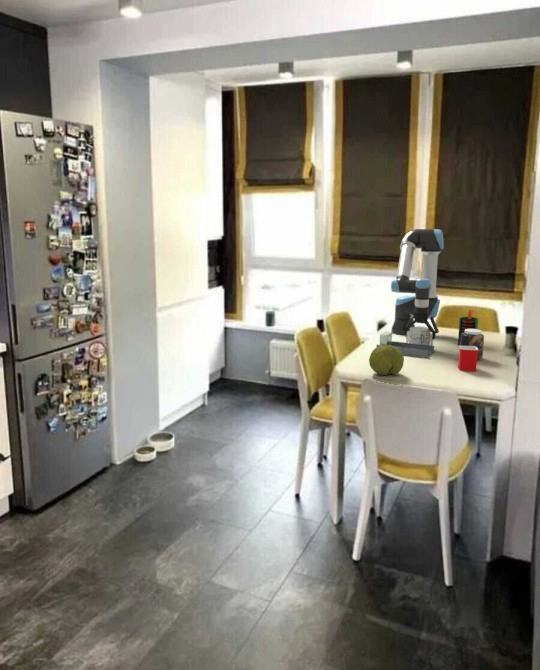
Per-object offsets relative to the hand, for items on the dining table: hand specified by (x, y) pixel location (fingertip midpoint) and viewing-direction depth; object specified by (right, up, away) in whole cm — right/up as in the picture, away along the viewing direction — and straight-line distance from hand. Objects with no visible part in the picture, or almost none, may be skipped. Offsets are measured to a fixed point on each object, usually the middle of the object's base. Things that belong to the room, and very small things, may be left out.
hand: (419, 343), depth 324 cm
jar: (+21, -7, -22) cm, 32 cm away
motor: (+30, -1, +8) cm, 31 cm away
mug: (+12, -11, -41) cm, 45 cm away
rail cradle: (-10, -4, -9) cm, 15 cm away
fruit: (-29, -14, -52) cm, 61 cm away
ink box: (0, -2, +1) cm, 2 cm away
